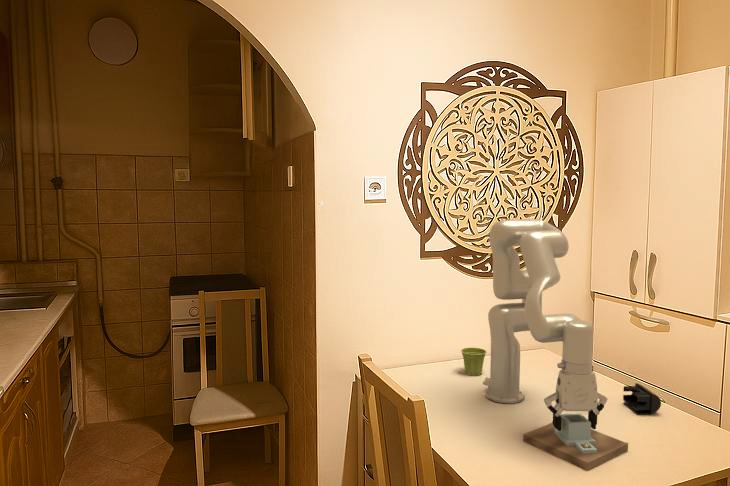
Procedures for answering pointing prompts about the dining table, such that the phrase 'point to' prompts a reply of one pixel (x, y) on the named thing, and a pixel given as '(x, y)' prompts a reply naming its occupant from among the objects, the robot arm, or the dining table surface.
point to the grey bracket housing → (576, 433)
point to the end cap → (641, 400)
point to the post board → (555, 446)
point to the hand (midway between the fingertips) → (574, 427)
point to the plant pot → (473, 360)
